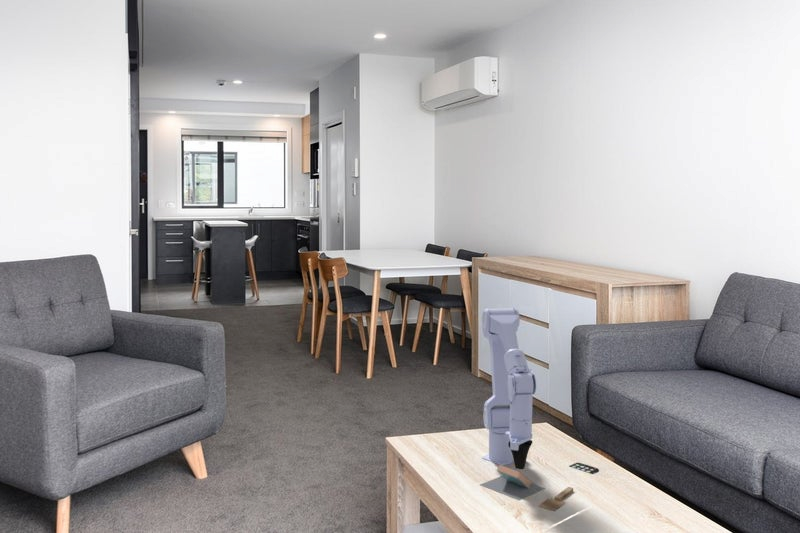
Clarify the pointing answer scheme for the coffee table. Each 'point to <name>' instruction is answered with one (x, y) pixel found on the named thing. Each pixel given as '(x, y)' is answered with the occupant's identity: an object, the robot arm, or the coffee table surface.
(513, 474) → the tile
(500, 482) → the mat
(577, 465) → the smartphone
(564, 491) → the walnut turner
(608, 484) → the coffee table surface
